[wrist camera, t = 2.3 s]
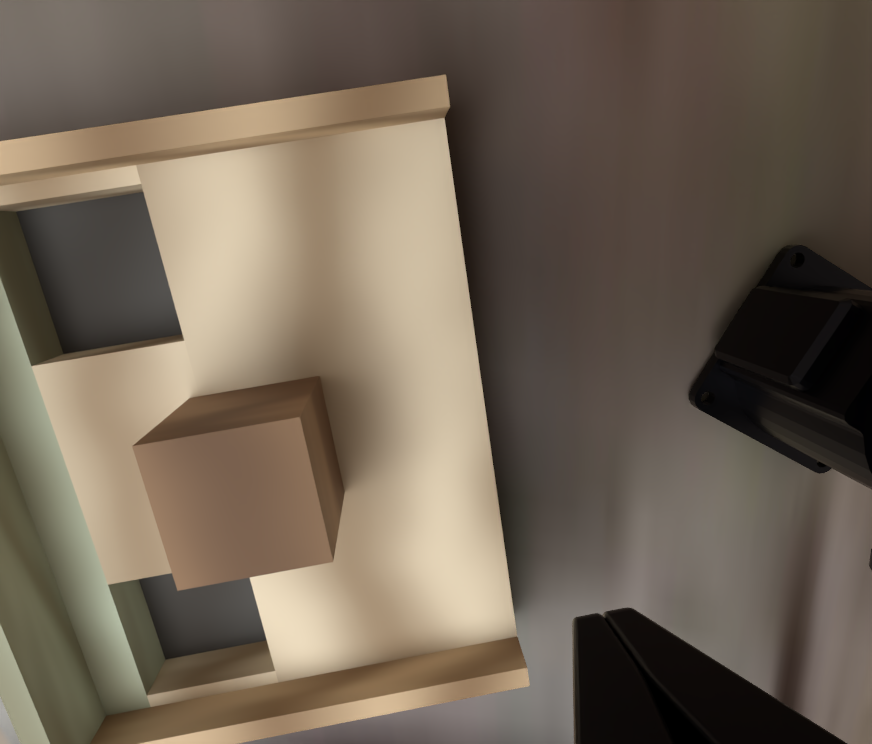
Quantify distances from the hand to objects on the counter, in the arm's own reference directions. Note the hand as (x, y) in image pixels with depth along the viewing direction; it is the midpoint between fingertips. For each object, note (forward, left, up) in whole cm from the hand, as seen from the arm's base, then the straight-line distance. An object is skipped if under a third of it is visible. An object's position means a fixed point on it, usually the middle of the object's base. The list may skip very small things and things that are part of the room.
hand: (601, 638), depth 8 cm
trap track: (+6, +5, -12) cm, 15 cm away
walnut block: (+5, +4, -10) cm, 13 cm away
